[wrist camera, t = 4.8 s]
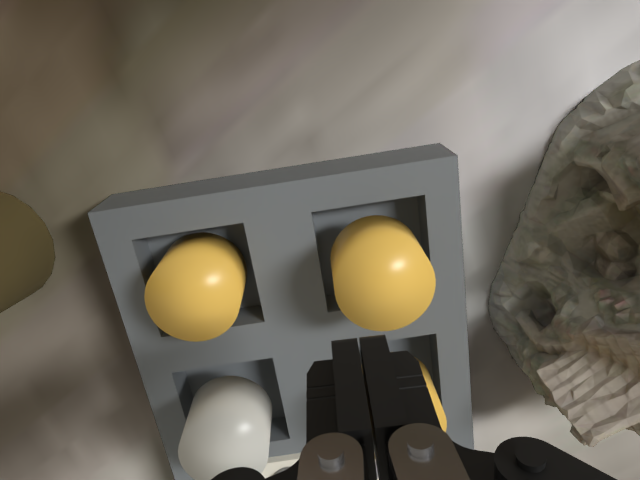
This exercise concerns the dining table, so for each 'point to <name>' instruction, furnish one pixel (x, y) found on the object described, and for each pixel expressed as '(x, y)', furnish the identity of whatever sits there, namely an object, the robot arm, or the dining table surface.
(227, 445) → the white button
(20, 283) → the olive rounded cylinder
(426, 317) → the button board
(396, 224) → the amber button
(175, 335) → the amber button
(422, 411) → the robot arm
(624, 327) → the ceramic cottage
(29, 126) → the dining table surface
